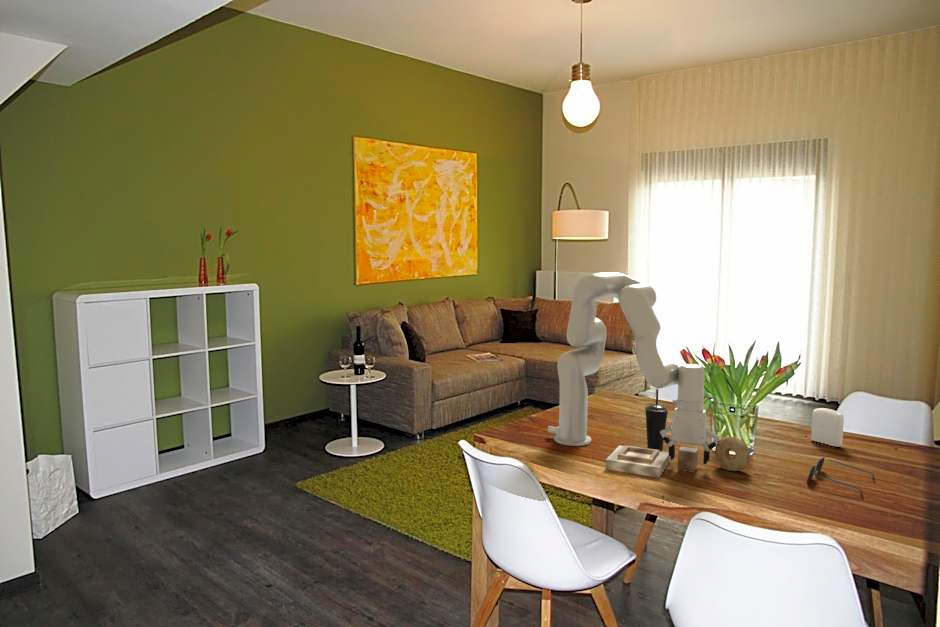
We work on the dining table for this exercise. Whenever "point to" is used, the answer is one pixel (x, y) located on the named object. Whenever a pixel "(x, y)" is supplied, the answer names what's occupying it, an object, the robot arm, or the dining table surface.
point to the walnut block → (687, 459)
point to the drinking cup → (655, 424)
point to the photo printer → (827, 426)
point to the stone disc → (729, 462)
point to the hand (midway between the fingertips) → (688, 460)
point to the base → (638, 461)
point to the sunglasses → (818, 468)
